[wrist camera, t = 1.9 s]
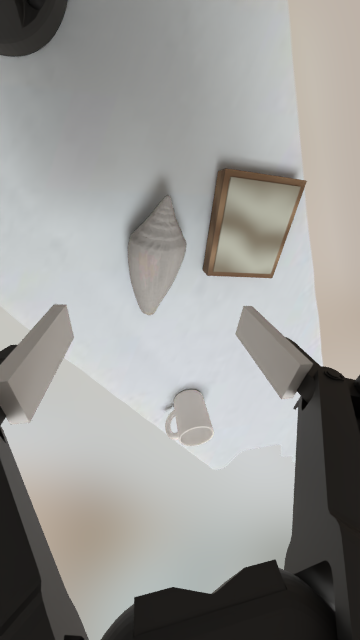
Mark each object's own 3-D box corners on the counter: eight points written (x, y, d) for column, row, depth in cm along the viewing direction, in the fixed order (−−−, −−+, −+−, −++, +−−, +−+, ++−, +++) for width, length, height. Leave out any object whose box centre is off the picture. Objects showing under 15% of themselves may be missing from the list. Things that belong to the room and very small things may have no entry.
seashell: (157, 251, 38) (183, 191, 24) (181, 303, 38) (221, 272, 24) (115, 262, 35) (117, 201, 21) (141, 319, 35) (160, 295, 21)
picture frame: (217, 171, 27) (226, 167, 24) (292, 182, 29) (308, 180, 26) (202, 270, 34) (207, 276, 31) (263, 272, 36) (273, 278, 33)
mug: (170, 416, 56) (176, 455, 47) (155, 403, 51) (158, 443, 43) (207, 399, 54) (219, 436, 46) (194, 384, 50) (205, 422, 41)
